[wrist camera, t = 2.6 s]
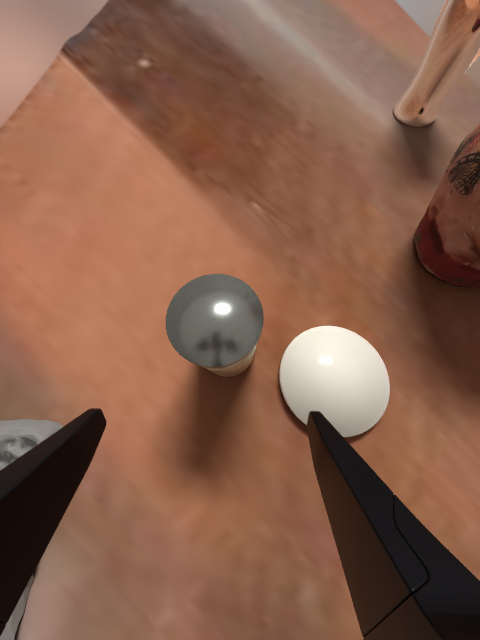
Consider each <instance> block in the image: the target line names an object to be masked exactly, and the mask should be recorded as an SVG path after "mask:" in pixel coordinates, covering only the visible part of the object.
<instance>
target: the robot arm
mask: <svg viewBox="0 0 480 640" xmlns="http://www.w3.org/2000/svg"><path fill="white" fill-rule="evenodd" d="M105 427H106V419H105V417H104V415H103V412H102V410H101V409H98V408H92V409H89V410H87V411H86V412H84V413H83V414H81V415H80V416H78V417H77V418H75V419H74V420H73V421H71V422H70V423H68V424H67V425H65V426H64V427H62V428H61V429H60V430H58V431H57V432H55V433H54V434H52V435H51V436H49V437H48V438H47V439H45V440H44V441H42V442H41V443H39V444H38V445H36V446H35V447H33V448H32V449H31V450H29V451H28V452H26V453H25V454H23V455H22V456H20V457H19V458H18V459H16V460H15V461H13V462H12V463H10V464H9V465H7V466H6V467H4V468H3V469H2V470H0V636H1V635H2V633H3V631H4V629H5V627H6V624H7V622H8V621H9V619H10V617H11V615H12V613H13V611H14V609H15V607H16V605H17V603H18V602H19V600H20V598H21V596H22V594H23V592H24V590H25V588H26V586H27V584H28V582H29V580H30V579H31V577H32V575H33V573H34V571H35V569H36V567H37V565H38V563H39V561H40V559H41V557H42V556H43V554H44V552H45V550H46V548H47V546H48V544H49V542H50V540H51V538H52V536H53V534H54V533H55V531H56V529H57V527H58V525H59V523H60V521H61V519H62V517H63V515H64V513H65V511H66V509H67V508H68V506H69V504H70V502H71V500H72V498H73V496H74V494H75V492H76V490H77V488H78V486H79V485H80V483H81V481H82V479H83V477H84V475H85V473H86V471H87V469H88V467H89V465H90V463H91V461H92V459H93V456H94V454H95V451H96V449H97V446H98V444H99V442H100V439H101V437H102V434H103V432H104V430H105ZM307 432H308V437H309V442H310V448H311V453H312V459H313V464H314V469H315V473H316V476H317V480H318V483H319V487H320V490H321V494H322V497H323V501H324V504H325V508H326V511H327V515H328V518H329V521H330V525H331V528H332V532H333V535H334V539H335V542H336V546H337V549H338V553H339V556H340V560H341V563H342V567H343V570H344V573H345V577H346V580H347V584H348V587H349V591H350V594H351V598H352V601H353V605H354V608H355V612H356V615H357V619H358V622H359V625H360V629H361V632H362V636H363V637H364V640H480V581H479V580H478V579H477V578H476V577H475V576H474V575H473V574H472V573H471V572H470V571H469V570H468V569H467V568H466V567H465V566H464V565H463V564H462V563H461V562H460V561H459V560H458V559H457V558H456V557H455V556H454V555H453V554H452V553H451V552H450V551H449V550H448V549H447V548H446V547H444V546H443V545H442V544H441V543H440V542H439V541H438V540H437V539H436V538H435V537H434V535H433V534H432V533H431V532H430V531H429V530H428V529H427V528H426V527H425V526H424V525H423V524H422V523H421V522H420V521H419V520H418V519H417V518H416V517H415V516H414V515H413V514H412V513H411V512H410V510H409V509H408V508H407V507H406V506H405V505H404V504H403V503H402V502H401V501H400V500H399V498H398V497H397V496H396V495H393V492H392V491H391V490H390V489H389V487H388V486H387V485H386V484H385V483H384V482H383V481H382V480H381V479H380V477H379V476H378V475H377V474H376V473H375V472H374V471H373V470H372V469H371V467H370V466H369V465H368V464H367V463H366V462H365V461H364V460H363V459H362V457H361V456H360V455H359V454H358V453H357V452H356V451H355V450H354V449H353V448H352V446H351V445H350V444H349V443H348V442H347V441H346V440H345V439H344V438H343V436H342V435H341V434H340V433H339V432H338V431H337V430H336V429H335V428H334V426H333V425H332V424H331V423H330V422H329V421H328V420H327V419H326V418H325V416H324V415H323V414H322V413H321V412H320V411H310V412H309V415H308V420H307Z"/></svg>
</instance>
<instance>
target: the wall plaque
mask: <svg viewBox="0 0 480 640" xmlns="http://www.w3.org/2000/svg"><path fill="white" fill-rule="evenodd" d="M62 427H63V426H62V425H61V424H59V423H57V422H53V421H50V420H30V419H20V420H12V421H0V470H2V469H3V468H4V467H6V466H7V465H9V464H10V463H12V462H13V461H15V460H16V459H18V458H19V457H20V456H22V455H23V454H25V453H26V452H28V451H29V450H31V449H32V448H33V447H35V446H36V445H38V444H39V443H41V442H42V441H44V440H45V439H47V438H48V437H49V436H51V435H52V434H54V433H55V432H57V431H58V430H60V429H61V428H62ZM33 580H34V577H33V575H32V577H31V579H30V580H29V582H28V584H27V586H26V588H25V590H24V592H23V594H22V596H21V598H20V600H19V602H18V603H17V605H16V607H15V609H14V611H13V613H12V615H11V617H10V619H9V621H8V622H7V624H6V627H5V629H4V631H3V633H2V635H1V636H0V640H15V634H16V631H17V628H18V625H19V622H20V620H21V617H22V615H23V613H24V610H25V606H26V602H27V598H28V594H29V591H30V587H31V584H32V582H33Z"/></svg>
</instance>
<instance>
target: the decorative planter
mask: <svg viewBox="0 0 480 640" xmlns="http://www.w3.org/2000/svg"><path fill="white" fill-rule="evenodd" d="M415 243H416V248H417V252H418V258H419V260H420V261H421V263H422V264H423V265H424V267H425V268H426V269H427V270H428V271H429V272H431V273H432V274H434V275H436V276H437V277H438V278H440V279H443V280H445V281H447V282H450V283H453V284H456V285H461V286H480V124H479V125H478V126H477V127H476V128H475V129H474V130H473V131H472V132H471V133H470V134H469V135H468V136H467V137H466V138H465V139H464V140H463V141H462V143H461V144H460V146H459V148H458V149H457V151H456V152H455V154H454V156H453V158H452V160H451V162H450V164H449V166H448V168H447V170H446V172H445V174H444V177H443V179H442V181H441V183H440V185H439V187H438V188H437V190H436V192H435V194H434V196H433V198H432V200H431V202H430V204H429V206H428V208H427V211H426V213H425V215H424V217H423V219H422V220H421V222H420V223H419V226H418V228H417V232H416V236H415Z"/></svg>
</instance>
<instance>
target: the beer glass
mask: <svg viewBox="0 0 480 640" xmlns="http://www.w3.org/2000/svg"><path fill="white" fill-rule="evenodd" d="M479 55H480V0H446V1H445V4H444V6H443V8H442V11H441V13H440V15H439V18H438V20H437V23H436V25H435V27H434V30H433V32H432V35H431V37H430V40H429V42H428V45H427V47H426V50H425V52H424V55H423V57H422V60H421V62H420V64H419V67H418V69H417V71H416V73H415V75H414V77H413V79H412V81H411V83H410V84H409V86H408V87H407V89H406V91H405V92H404V93H403V95H402V96H401V98H400V99H399V101H398V102H397V103H396V105H395V107H394V115H395V117H396V118H397V119H398V120H399V121H400V122H402V123H404V124H406V125H409V126H415V127H422V126H426V125H429V124H431V123H432V122H433V121H434V120H435V118H436V117H437V115H438V113H439V111H440V109H441V107H442V105H443V103H444V101H445V99H446V98H447V96H448V94H449V93H450V91H451V90H452V88H453V87H454V86H455V84H456V83H457V82H458V80H459V79H460V78H461V77H462V75H463V74H464V73H465V72H466V71H467V69H468V68H469V67H470V66H471V64H472V63H473V62H474V61H475V60H476V59H477V57H478V56H479Z"/></svg>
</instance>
